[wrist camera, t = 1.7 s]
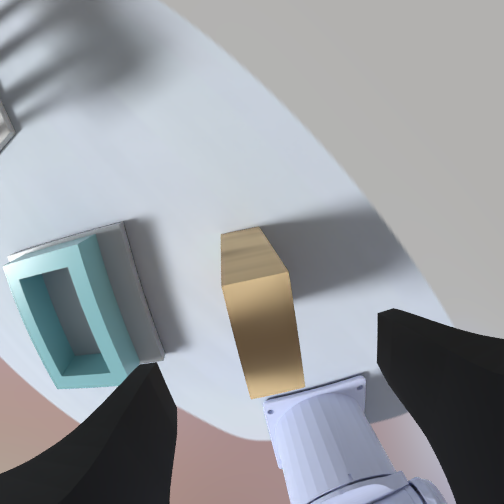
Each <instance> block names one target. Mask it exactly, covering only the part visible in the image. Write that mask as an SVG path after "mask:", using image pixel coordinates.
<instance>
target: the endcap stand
mask: <svg viewBox="0 0 504 504" xmlns="http://www.w3.org/2000/svg"><path fill="white" fill-rule="evenodd" d="M8 260H9V263H7V264H6V265H4V266H3V269H4V272H5V275H6V278H7V281H8V284H9V287H10V289H11V292H12V295H13V297H14V300H15V303H16V305H17V308H18V310H19V313H20V315H21V317H22V320H23V322H24V324H25V327H26V329H27V331H28V333H29V336H30V338H31V340H32V342H33V344H34V346H35V348H36V350H37V352H38V354H39V356H40V358H41V360H42V362H43V364H44V366H45V368H46V370H47V371H48V373H49V375H50V377H51V379H52V381H53V382H54V384H55V386H56V387H57V389H73V388H94V387H109V386H119V385H120V384H121V383H122V382H123V381H124V380H125V379H126V378H127V377H128V375H129V374H130V373H131V372H132V371H133V370H134V369H135V368H136V367H137V366H139V364H142V363H150V362H157V361H164V357H165V352H164V349H163V347H162V344H161V341H160V339H159V336H158V333H157V331H156V328H155V325H154V322H153V319H152V316H151V314H150V311H149V308H148V305H147V302H146V299H145V296H144V292H143V289H142V286H141V283H140V280H139V276H138V273H137V270H136V267H135V263H134V260H133V256H132V253H131V249H130V245H129V242H128V238H127V234H126V231H125V227H124V223H123V222H119V223H115V224H111V225H108V226H104V227H100V228H97V229H93V230H89V231H86V232H82V233H79V234H75V235H72V236H68V237H65V238H62V239H58V240H55V241H52V242H48V243H45V244H42V245H38V246H35V247H32V248H29V249H26V250H23V251H20V252H16V253H14V254H12V255H10V256H8Z"/></svg>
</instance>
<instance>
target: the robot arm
mask: <svg viewBox="0 0 504 504" xmlns="http://www.w3.org/2000/svg"><path fill="white" fill-rule="evenodd" d="M377 364H378V365H379V367H380V369H381V371H382V373H383V375H384V377H385V379H386V381H387V382H388V384H389V386H390V387H391V389H392V390H393V391H394V393H395V394H396V395H397V397H398V398H399V400H400V401H401V402H402V404H403V405H404V406H405V408H406V409H407V410H408V412H409V413H410V414H411V416H412V417H413V418H414V420H415V421H416V423H417V424H418V425H419V427H420V428H421V429H422V431H423V433H424V434H425V436H426V437H427V439H428V441H429V443H430V445H431V447H432V449H433V450H434V452H435V454H436V456H437V458H438V460H439V462H440V465H441V466H442V469H443V471H444V473H445V475H446V478H447V480H448V483H449V485H450V487H451V490H452V492H453V495H454V498H455V501H456V504H504V339H500V338H495V337H489V336H483V335H479V334H475V333H471V332H467V331H463V330H460V329H456V328H453V327H450V326H447V325H444V324H441V323H438V322H435V321H432V320H429V319H426V318H423V317H420V316H417V315H414V314H411V313H408V312H405V311H402V310H398V309H394V308H393V309H390V310H387V311H384V312H380V313H378V340H377ZM360 385H361V386H360ZM358 386H360V387H358ZM365 394H366V379H365V378H364V376H361V375H360V376H356V377H353V378H350V379H347V380H344V381H340V382H337V383H334V384H330V385H327V386H323V387H320V388H316V389H312V390H308V391H304V392H301V393H297V394H292V395H288V396H284V397H280V398H275V399H271V400H267V401H265V402H264V403H263V410H264V414H265V418H266V422H267V425H268V429H269V433H270V437H271V441H272V444H273V448H274V452H275V456H276V459H277V463H278V467H279V468H281V469H283V472H284V476H285V481H286V485H287V489H288V494H289V498H290V502H291V504H447V502H446V501H445V499H444V497H443V496H442V494H441V493H440V491H439V490H438V489H437V487H436V486H435V485H434V484H433V483H432V482H430V481H429V480H426V479H421V478H419V477H415V478H413V479H411V480H409V481H407V479H406V477H405V475H404V473H403V472H402V471H399V472H396V470H395V469H394V467H393V465H392V463H391V461H390V459H389V458H388V456H387V454H386V452H385V451H384V449H383V447H382V445H381V443H380V441H379V440H378V438H377V436H376V434H375V433H374V431H373V429H372V427H371V425H370V423H369V422H368V420H367V418H366V416H365V415H364V413H365ZM269 410H272V411H269ZM176 438H177V407H176V405H175V403H174V401H173V398H172V396H171V394H170V392H169V390H168V387H167V385H166V383H165V380H164V378H163V376H162V374H161V371H160V369H159V366H158V364H157V362H155V363H148V364H140V365H139V366H137V367H136V368H135V369H134V370H133V371H132V372H131V373H130V374H129V375H128V377H127V378H126V379H125V380H124V381H123V382H122V383H121V384H120V385H119V386H118V387H117V388H116V389H115V391H114V392H113V393H112V394H111V395H110V396H109V397H108V398H107V399H106V400H105V401H104V402H103V403H102V404H101V405H100V406H99V407H98V408H97V409H96V410H95V411H94V412H93V413H92V414H91V415H90V416H89V417H88V418H87V419H86V420H85V421H84V422H83V423H81V424H80V425H79V426H78V427H77V428H76V429H75V430H73V431H72V432H71V433H70V434H69V435H67V436H66V437H64V438H63V439H62V440H61V441H59V442H58V443H56V444H55V445H54V446H52V447H50V448H49V449H47V450H46V451H44V452H42V453H41V454H39V455H38V456H36V457H35V458H33V459H31V460H29V461H27V462H25V463H23V464H22V465H20V466H17V467H15V468H13V469H11V470H8V471H6V472H4V473H1V474H0V504H169V503H170V502H169V498H170V485H171V477H172V469H173V460H174V453H175V446H176Z"/></svg>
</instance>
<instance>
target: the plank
mask: <svg viewBox="0 0 504 504" xmlns="http://www.w3.org/2000/svg"><path fill="white" fill-rule="evenodd" d="M221 286H222V290H223V294H224V298H225V302H226V306H227V311H228V315H229V319H230V322H231V326H232V330H233V334H234V338H235V342H236V346H237V350H238V354H239V357H240V361H241V365H242V369H243V372H244V376H245V380H246V383H247V387H248V391H249V394H250V398H251V399H255V398H260V397H265V396H269V395H274V394H278V393H283V392H287V391H291V390H295V389H299V388H303V387H305V382H304V374H303V367H302V359H301V352H300V345H299V338H298V331H297V324H296V317H295V310H294V304H293V297H292V291H291V284H290V278H289V272H288V270H287V269H286V267H285V265H284V264H283V262H282V261H281V259H280V258H279V256H278V255H277V253H276V252H275V250H274V249H273V247H272V246H271V244H270V243H269V241H268V240H267V238H266V237H265V235H264V234H263V232H262V230H261V229H260V227H254V228H249V229H244V230H240V231H235V232H230V233H225V234H221Z"/></svg>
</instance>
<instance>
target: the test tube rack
mask: <svg viewBox="0 0 504 504" xmlns="http://www.w3.org/2000/svg"><path fill="white" fill-rule="evenodd" d="M15 133H16V132H15V130H14V128H13V126H12V124H11V122H10V119H9V117H8V115H7V113H6V111H5V108H4V106H3V104H2V101H1V99H0V151H1V150H2V149H3V147H4V146H5V145H6V144H7V143H8V142H9V140H10V139H11V138H12V137H13V136H14V134H15Z"/></svg>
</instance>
